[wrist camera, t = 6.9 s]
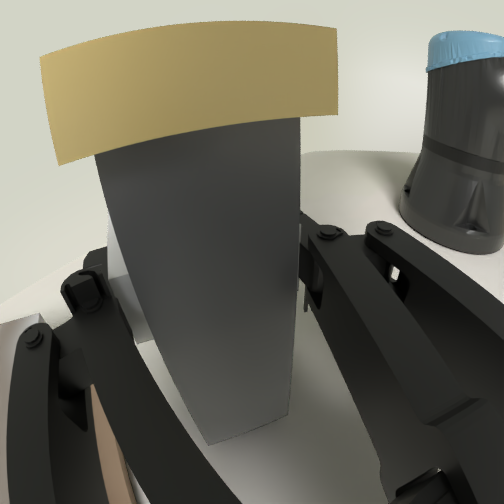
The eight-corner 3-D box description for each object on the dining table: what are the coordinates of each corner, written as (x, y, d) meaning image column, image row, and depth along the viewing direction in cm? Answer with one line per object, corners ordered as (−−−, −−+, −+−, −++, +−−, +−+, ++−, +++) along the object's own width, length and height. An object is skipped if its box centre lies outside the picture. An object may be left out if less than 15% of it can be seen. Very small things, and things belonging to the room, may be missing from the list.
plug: (258, 346, 18) (237, 46, 9) (303, 418, 14) (336, 28, 5) (171, 376, 16) (80, 72, 7) (201, 458, 12) (39, 56, 3)
